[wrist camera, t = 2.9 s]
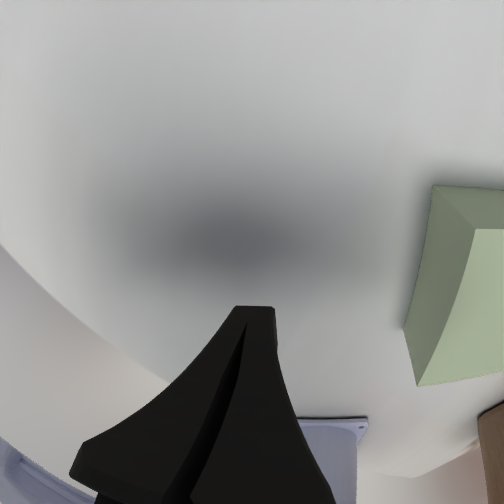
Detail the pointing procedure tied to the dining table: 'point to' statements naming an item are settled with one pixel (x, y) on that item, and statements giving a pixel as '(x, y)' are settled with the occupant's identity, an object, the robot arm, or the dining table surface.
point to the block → (493, 452)
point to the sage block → (459, 288)
